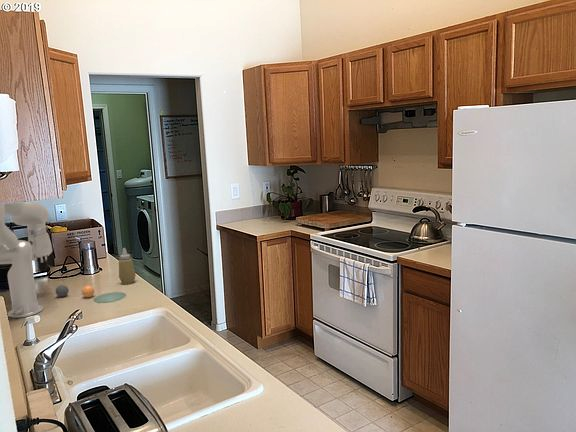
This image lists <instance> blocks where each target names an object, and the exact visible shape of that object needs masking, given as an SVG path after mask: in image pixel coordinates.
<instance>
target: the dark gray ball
mask: <svg viewBox="0 0 576 432" xmlns="http://www.w3.org/2000/svg"><path fill="white" fill-rule="evenodd" d="M68 293H69V287H68V286H67V285H65V284H60V285H58V286H57V287H56V288H55V294H56V296H58V297H62V298H63V297H66V296H67V295H68Z"/></svg>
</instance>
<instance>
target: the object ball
mask: <svg viewBox="0 0 576 432" xmlns="http://www.w3.org/2000/svg"><path fill="white" fill-rule="evenodd" d="M81 295H82V296H83V297H85V298H91V297H93V296H94V295H95V288H94V287H93V286H92V285H90V284H89V285H84V287H82V289H81Z"/></svg>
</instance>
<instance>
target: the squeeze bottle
mask: <svg viewBox="0 0 576 432" xmlns="http://www.w3.org/2000/svg"><path fill="white" fill-rule="evenodd" d="M121 252H122V254H121V255H119V256H120V258H119V260H118V278H119V280H120V282H121V285H130V284H134V283H135V280H136V270H135V265H134V261H133V258H131V254H129V253H128V252H127V249H126V247H123V248H122V251H121Z"/></svg>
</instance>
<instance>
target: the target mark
mask: <svg viewBox="0 0 576 432" xmlns="http://www.w3.org/2000/svg"><path fill="white" fill-rule="evenodd" d="M126 296H127V293H125V292H122V291H121V292H120V291H116V292H115V291H114V292H107V293H103V294H100V295H98V296H95V297H94V298H93V302H95V303H98V304H107V303H115V302H117V301H121V300H123V299H124V298H125V297H126Z"/></svg>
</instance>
